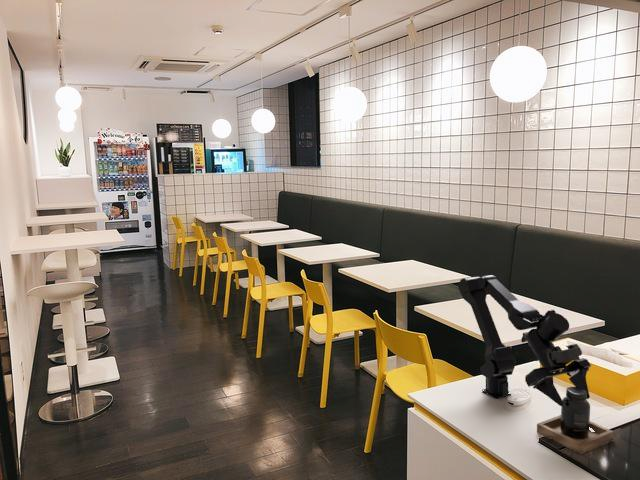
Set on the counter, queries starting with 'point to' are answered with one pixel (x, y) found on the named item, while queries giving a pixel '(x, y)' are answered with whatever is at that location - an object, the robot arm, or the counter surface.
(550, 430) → the walnut tray
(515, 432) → the counter surface
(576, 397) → the supplement bottle
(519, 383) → the counter surface
